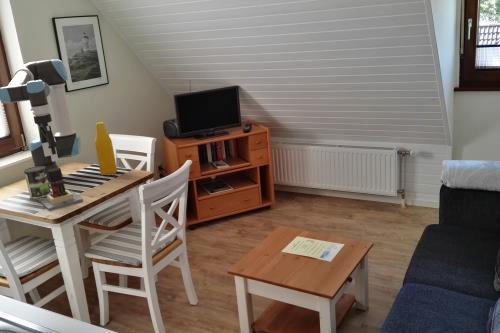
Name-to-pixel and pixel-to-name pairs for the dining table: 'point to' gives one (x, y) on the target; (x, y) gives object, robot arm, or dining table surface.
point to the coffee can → (37, 182)
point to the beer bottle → (104, 151)
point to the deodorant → (56, 182)
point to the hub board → (60, 200)
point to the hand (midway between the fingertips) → (51, 158)
